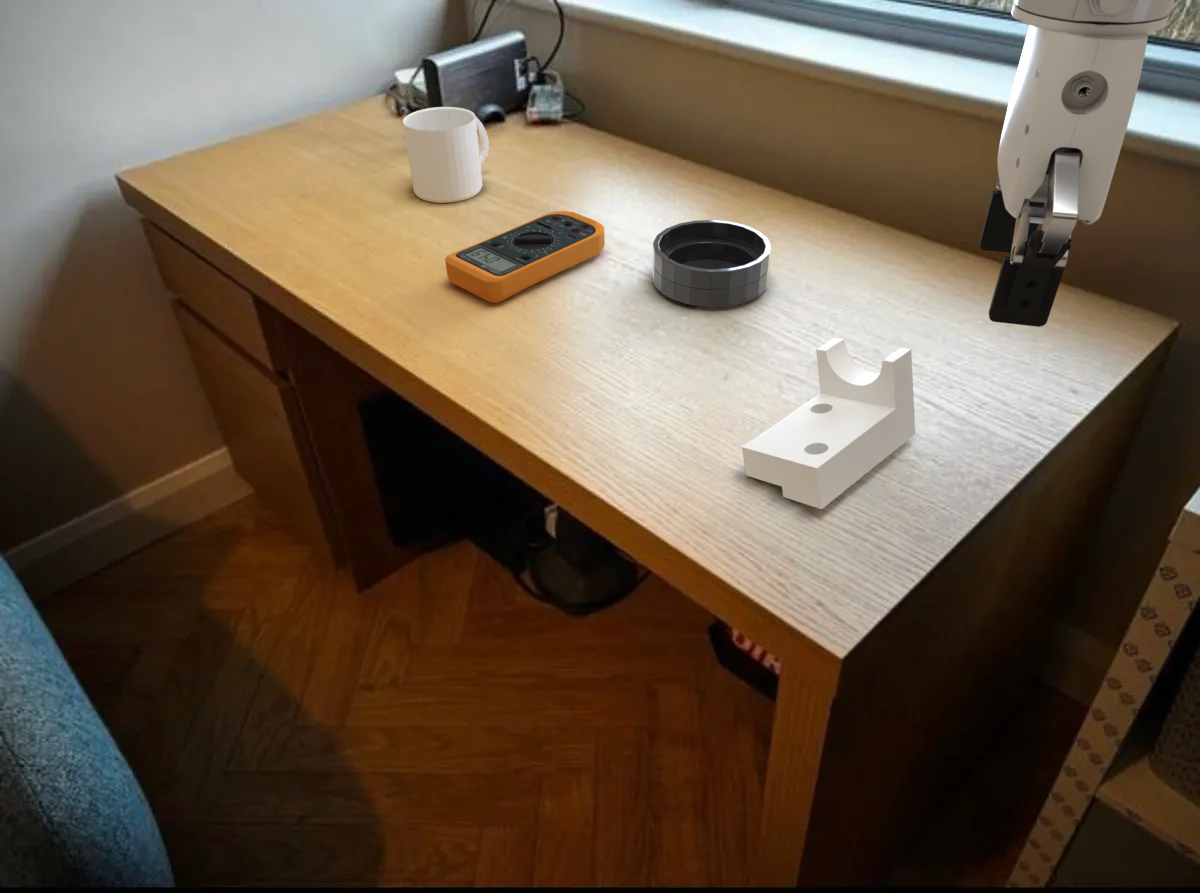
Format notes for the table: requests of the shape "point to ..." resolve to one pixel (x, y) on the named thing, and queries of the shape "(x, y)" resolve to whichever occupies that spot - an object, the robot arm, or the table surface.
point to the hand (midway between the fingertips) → (1009, 283)
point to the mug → (445, 153)
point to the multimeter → (525, 255)
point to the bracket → (837, 428)
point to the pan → (711, 263)
